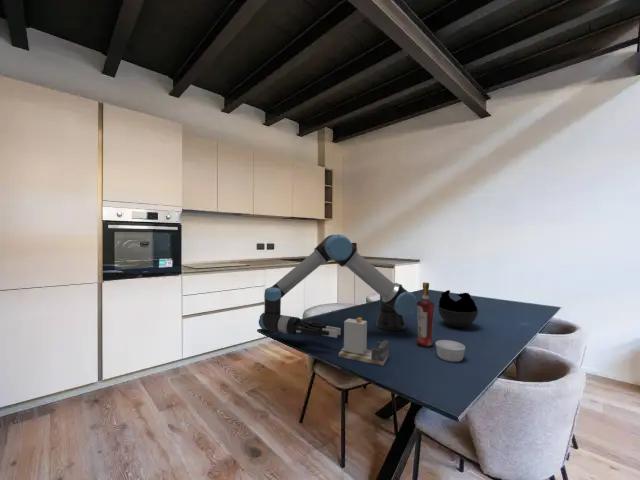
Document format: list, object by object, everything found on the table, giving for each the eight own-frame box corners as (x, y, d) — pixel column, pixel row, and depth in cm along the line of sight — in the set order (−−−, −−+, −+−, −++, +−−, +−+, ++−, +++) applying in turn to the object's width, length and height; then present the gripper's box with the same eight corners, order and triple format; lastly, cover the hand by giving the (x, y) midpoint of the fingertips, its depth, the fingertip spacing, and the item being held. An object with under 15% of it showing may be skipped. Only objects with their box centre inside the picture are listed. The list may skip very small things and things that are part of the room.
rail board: (338, 356, 121) (338, 340, 121) (346, 349, 129) (346, 334, 129) (383, 365, 113) (383, 348, 113) (388, 357, 121) (388, 341, 121)
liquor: (412, 343, 137) (413, 282, 137) (425, 341, 140) (426, 281, 140) (424, 348, 131) (425, 284, 130) (437, 346, 134) (438, 283, 133)
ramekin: (463, 365, 114) (463, 352, 114) (432, 359, 120) (432, 345, 120) (466, 356, 124) (467, 343, 124) (438, 350, 130) (438, 338, 130)
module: (343, 350, 122) (344, 318, 122) (348, 346, 127) (348, 315, 126) (362, 354, 119) (363, 320, 119) (366, 350, 123) (367, 317, 123)
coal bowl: (485, 332, 155) (486, 296, 154) (446, 331, 155) (446, 295, 155) (467, 321, 175) (467, 289, 174) (432, 320, 175) (432, 288, 175)
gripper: (299, 328, 143) (345, 336, 133) (280, 338, 129) (330, 348, 119) (299, 312, 143) (345, 319, 133) (280, 321, 129) (331, 329, 119)
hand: (338, 332), depth 126 cm, fingers open, 3 cm apart
